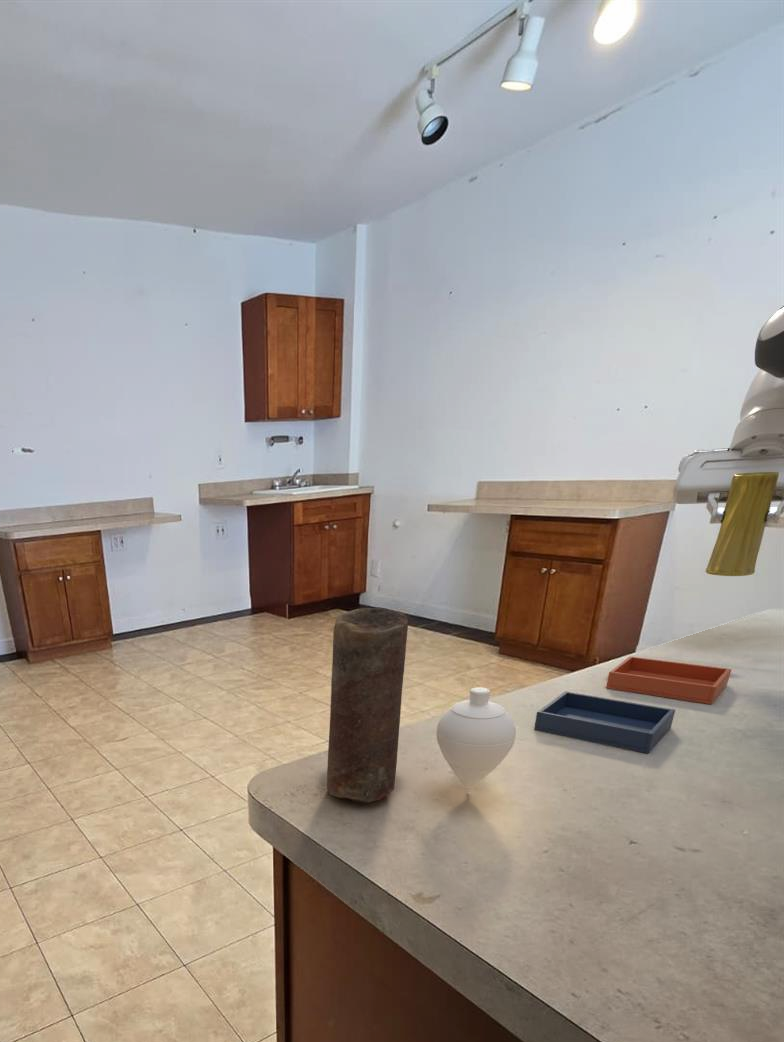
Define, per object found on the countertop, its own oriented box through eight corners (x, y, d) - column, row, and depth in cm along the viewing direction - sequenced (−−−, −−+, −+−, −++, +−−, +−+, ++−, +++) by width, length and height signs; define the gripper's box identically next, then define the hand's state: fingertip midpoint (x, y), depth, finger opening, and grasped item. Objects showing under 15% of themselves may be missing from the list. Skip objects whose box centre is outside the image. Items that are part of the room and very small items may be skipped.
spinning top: (438, 774, 74) (447, 675, 69) (509, 784, 71) (525, 681, 65) (424, 803, 68) (433, 697, 63) (502, 816, 65) (518, 705, 60)
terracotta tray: (726, 685, 93) (731, 668, 92) (711, 704, 87) (716, 687, 86) (626, 671, 102) (629, 656, 101) (605, 688, 96) (609, 672, 95)
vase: (712, 569, 104) (737, 473, 98) (759, 571, 99) (788, 471, 93) (699, 574, 100) (724, 475, 94) (747, 577, 96) (776, 473, 90)
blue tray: (670, 728, 81) (675, 709, 80) (648, 753, 75) (653, 734, 74) (562, 708, 90) (565, 691, 89) (533, 729, 84) (536, 711, 83)
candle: (405, 787, 72) (418, 609, 63) (382, 816, 66) (392, 625, 58) (342, 774, 76) (346, 605, 67) (315, 800, 70) (316, 620, 62)
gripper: (685, 437, 102) (662, 507, 100) (861, 423, 90) (840, 504, 88) (681, 466, 107) (660, 534, 105) (847, 457, 95) (828, 534, 93)
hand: (743, 520), depth 96 cm, fingers closed on vase, 5 cm apart
